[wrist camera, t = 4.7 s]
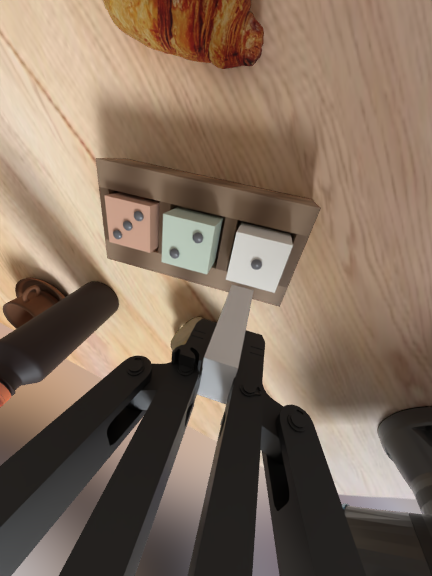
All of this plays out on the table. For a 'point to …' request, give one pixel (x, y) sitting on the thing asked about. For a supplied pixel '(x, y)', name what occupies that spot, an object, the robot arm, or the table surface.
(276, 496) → the robot arm
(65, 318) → the bottle
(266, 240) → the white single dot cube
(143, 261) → the wooden tile tray
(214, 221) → the two pip tile
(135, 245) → the three pip tile
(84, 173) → the table surface
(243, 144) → the table surface
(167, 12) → the croissant
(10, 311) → the cup and saucer
